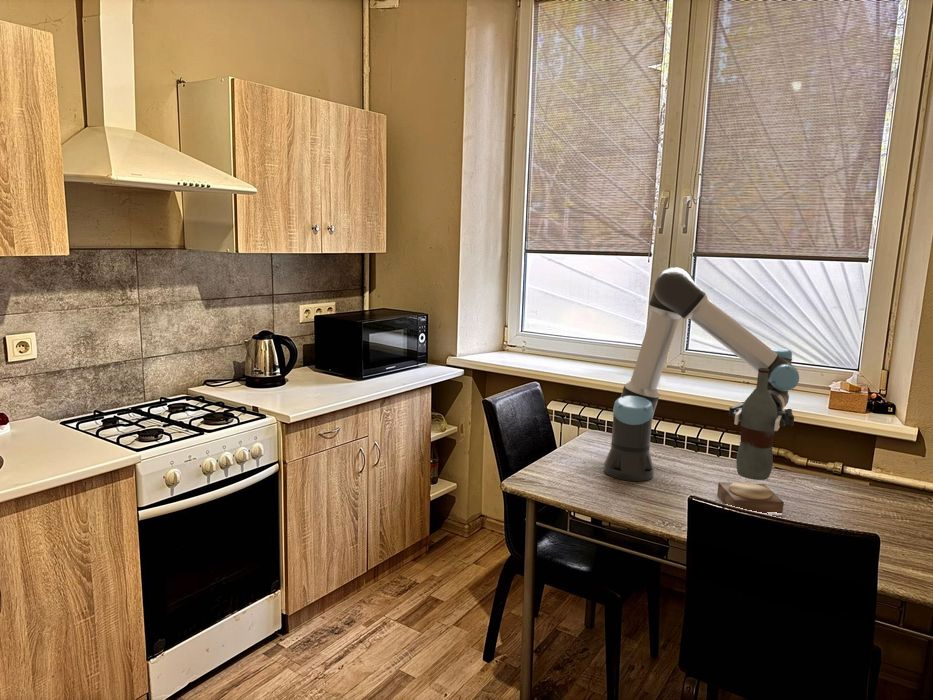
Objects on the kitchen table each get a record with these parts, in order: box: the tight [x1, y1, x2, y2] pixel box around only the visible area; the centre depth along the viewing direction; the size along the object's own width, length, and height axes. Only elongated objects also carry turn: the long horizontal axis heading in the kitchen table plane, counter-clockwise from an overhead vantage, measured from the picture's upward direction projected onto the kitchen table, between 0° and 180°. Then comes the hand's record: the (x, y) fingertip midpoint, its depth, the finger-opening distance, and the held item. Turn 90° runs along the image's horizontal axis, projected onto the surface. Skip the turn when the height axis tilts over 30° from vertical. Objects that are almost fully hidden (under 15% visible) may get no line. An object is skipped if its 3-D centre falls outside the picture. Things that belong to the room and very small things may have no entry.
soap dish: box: [716, 481, 785, 514], centre depth 184 cm, size 13×13×5 cm
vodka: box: [735, 368, 777, 481], centre depth 180 cm, size 9×9×30 cm
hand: (755, 422), depth 176 cm, fingers closed on vodka, 9 cm apart
